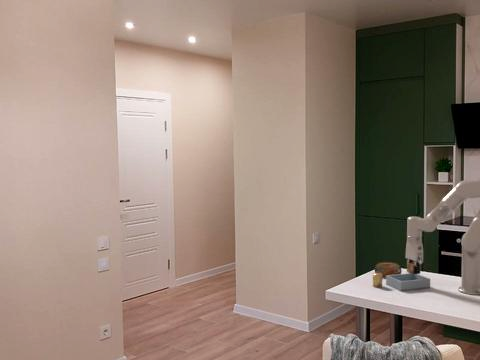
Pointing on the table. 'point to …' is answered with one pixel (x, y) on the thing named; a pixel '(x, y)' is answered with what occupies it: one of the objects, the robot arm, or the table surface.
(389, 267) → the tin
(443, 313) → the table surface
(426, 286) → the tote
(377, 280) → the brass cylinder
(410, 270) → the walnut cube
